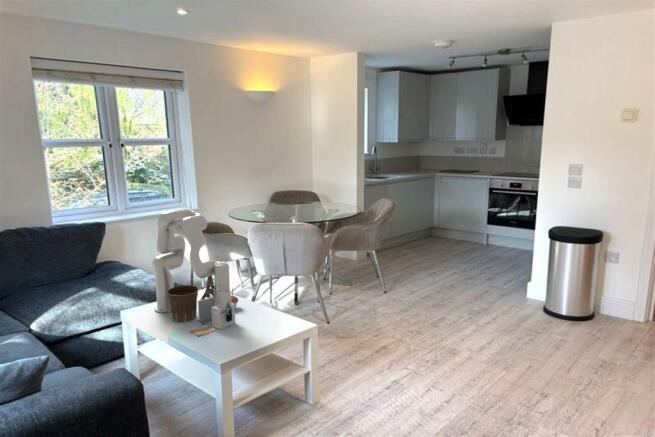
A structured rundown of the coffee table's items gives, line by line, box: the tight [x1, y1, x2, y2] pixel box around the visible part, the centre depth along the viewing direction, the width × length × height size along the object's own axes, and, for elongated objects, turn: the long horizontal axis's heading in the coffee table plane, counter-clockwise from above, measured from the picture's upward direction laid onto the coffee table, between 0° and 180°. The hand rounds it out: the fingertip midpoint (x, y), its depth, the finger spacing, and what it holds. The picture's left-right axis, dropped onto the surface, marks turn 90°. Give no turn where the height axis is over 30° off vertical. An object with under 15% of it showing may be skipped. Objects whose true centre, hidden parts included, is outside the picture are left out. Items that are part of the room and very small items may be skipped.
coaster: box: [187, 323, 217, 338], centre depth 229 cm, size 10×10×1 cm
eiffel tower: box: [198, 275, 215, 301], centre depth 275 cm, size 11×11×25 cm
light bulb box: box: [211, 303, 236, 330], centre depth 235 cm, size 11×7×11 cm, turn 145°
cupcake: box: [231, 288, 239, 308], centre depth 259 cm, size 9×8×12 cm
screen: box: [197, 296, 214, 325], centre depth 243 cm, size 5×14×12 cm, turn 138°
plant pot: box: [167, 284, 200, 324], centre depth 244 cm, size 16×16×16 cm
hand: (223, 318), depth 236 cm, fingers open, 9 cm apart
